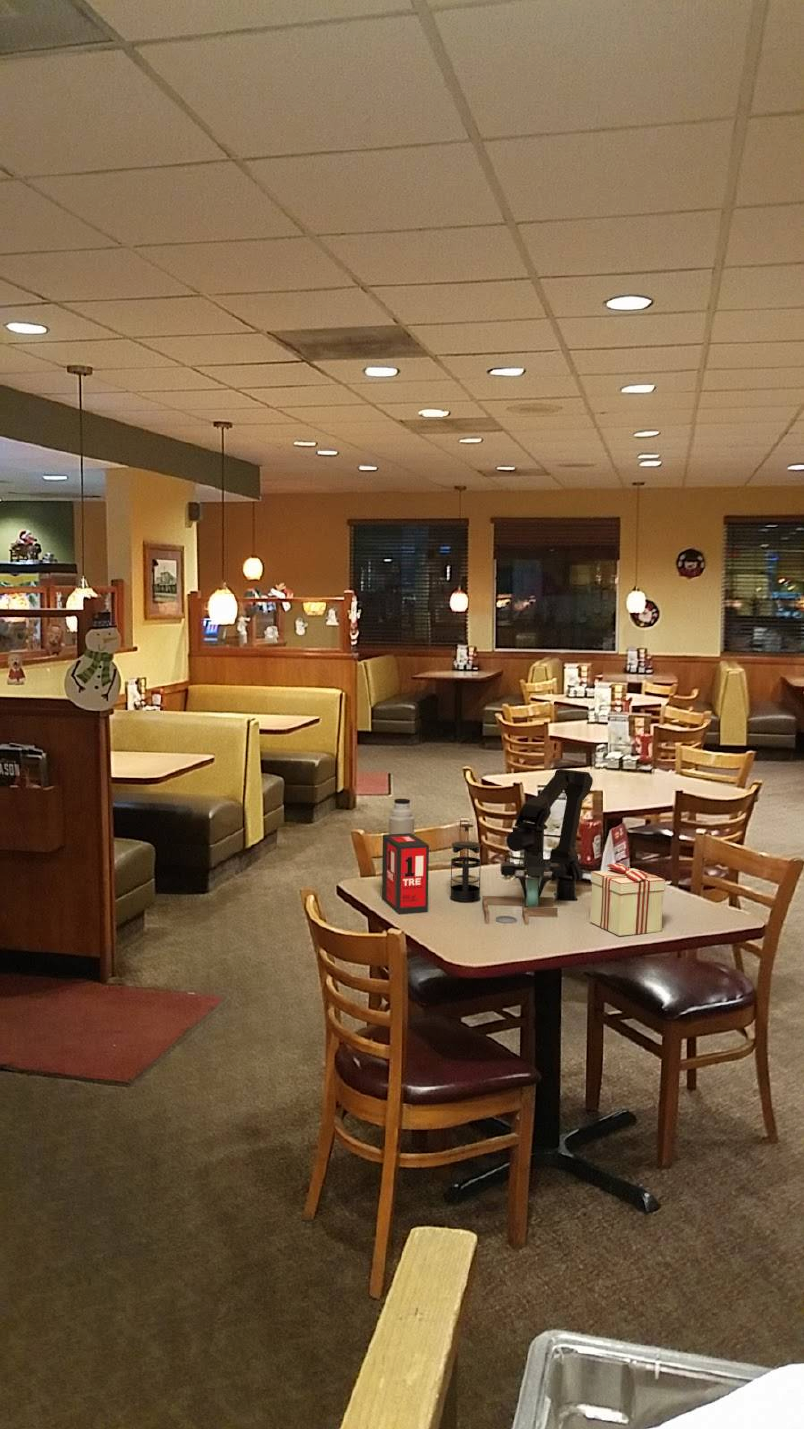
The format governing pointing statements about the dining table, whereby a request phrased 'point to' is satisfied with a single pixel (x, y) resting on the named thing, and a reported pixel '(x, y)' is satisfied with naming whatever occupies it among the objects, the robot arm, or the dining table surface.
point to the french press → (465, 872)
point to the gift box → (626, 900)
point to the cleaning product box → (405, 873)
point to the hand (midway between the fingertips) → (532, 897)
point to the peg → (532, 892)
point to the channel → (520, 901)
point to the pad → (506, 919)
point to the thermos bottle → (401, 818)
